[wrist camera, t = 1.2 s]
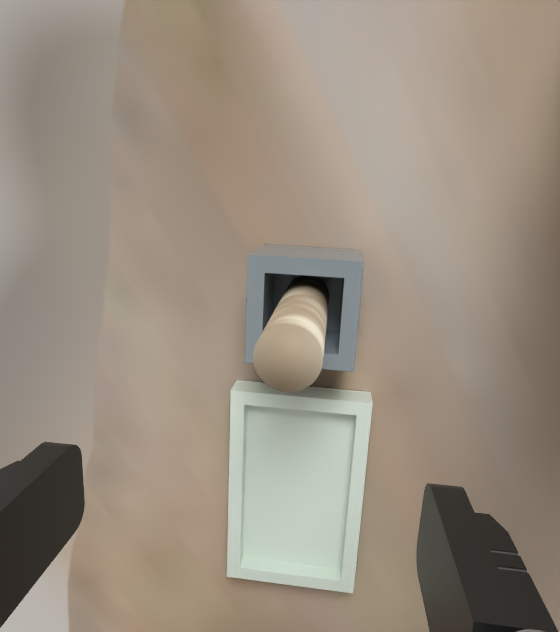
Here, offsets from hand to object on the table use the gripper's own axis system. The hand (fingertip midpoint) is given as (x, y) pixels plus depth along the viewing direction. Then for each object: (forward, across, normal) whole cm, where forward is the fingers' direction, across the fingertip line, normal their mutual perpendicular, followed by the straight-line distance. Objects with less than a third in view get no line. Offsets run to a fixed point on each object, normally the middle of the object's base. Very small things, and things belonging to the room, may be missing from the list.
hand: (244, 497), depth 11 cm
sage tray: (+24, 0, +15) cm, 28 cm away
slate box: (+24, 0, 0) cm, 24 cm away
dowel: (+23, 0, 0) cm, 23 cm away
